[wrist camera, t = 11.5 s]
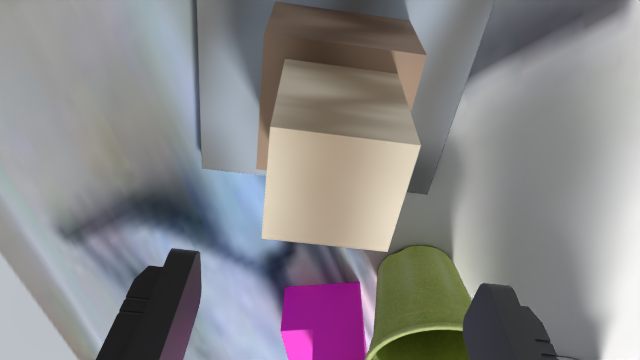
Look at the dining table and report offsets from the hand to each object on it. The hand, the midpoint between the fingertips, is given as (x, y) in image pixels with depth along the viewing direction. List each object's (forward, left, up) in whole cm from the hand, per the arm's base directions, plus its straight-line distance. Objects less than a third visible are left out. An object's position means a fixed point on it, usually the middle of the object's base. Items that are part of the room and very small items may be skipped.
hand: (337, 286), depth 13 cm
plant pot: (-9, +16, -16) cm, 25 cm away
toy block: (-4, +26, -17) cm, 31 cm away
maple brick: (0, 0, -10) cm, 10 cm away
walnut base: (0, 0, -16) cm, 16 cm away
